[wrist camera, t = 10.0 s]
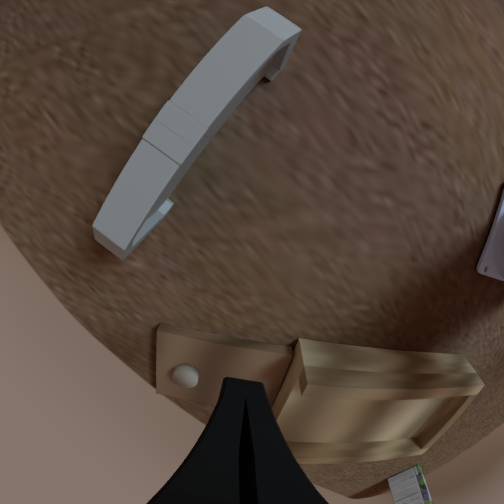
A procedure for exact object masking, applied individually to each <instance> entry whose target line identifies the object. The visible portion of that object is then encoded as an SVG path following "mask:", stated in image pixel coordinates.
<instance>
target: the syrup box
mask: <svg viewBox="0 0 504 504" xmlns="http://www.w3.org/2000/svg"><path fill="white" fill-rule="evenodd" d="M387 480H388V483H389V488H390V492H391V495H392V499H393V503H394V504H433V503H432V500H431V497H430V494H429V491H428V488H427V485H426V482H425V479H424V476H423V473H422V471H421V468H420V466H419V465H415V466H413V467H411V468H409V469H407V470H405V471H403V472H401V473H399V474H397V475H395V476H392V477H390V478H388V479H387Z"/></svg>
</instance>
